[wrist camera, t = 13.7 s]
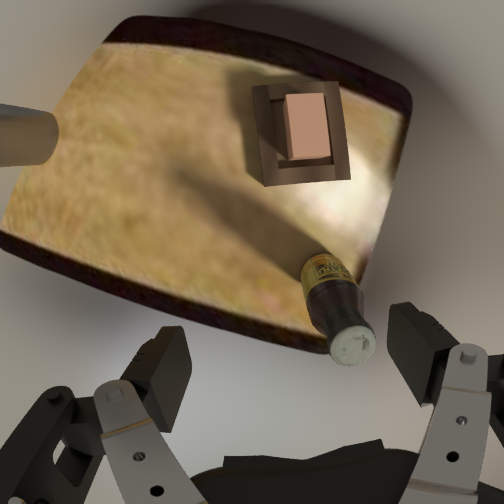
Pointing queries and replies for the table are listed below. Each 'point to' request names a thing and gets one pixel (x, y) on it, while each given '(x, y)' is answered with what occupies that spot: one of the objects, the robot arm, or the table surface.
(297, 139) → the key block
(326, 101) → the cradle
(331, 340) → the sauce bottle
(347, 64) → the table surface
